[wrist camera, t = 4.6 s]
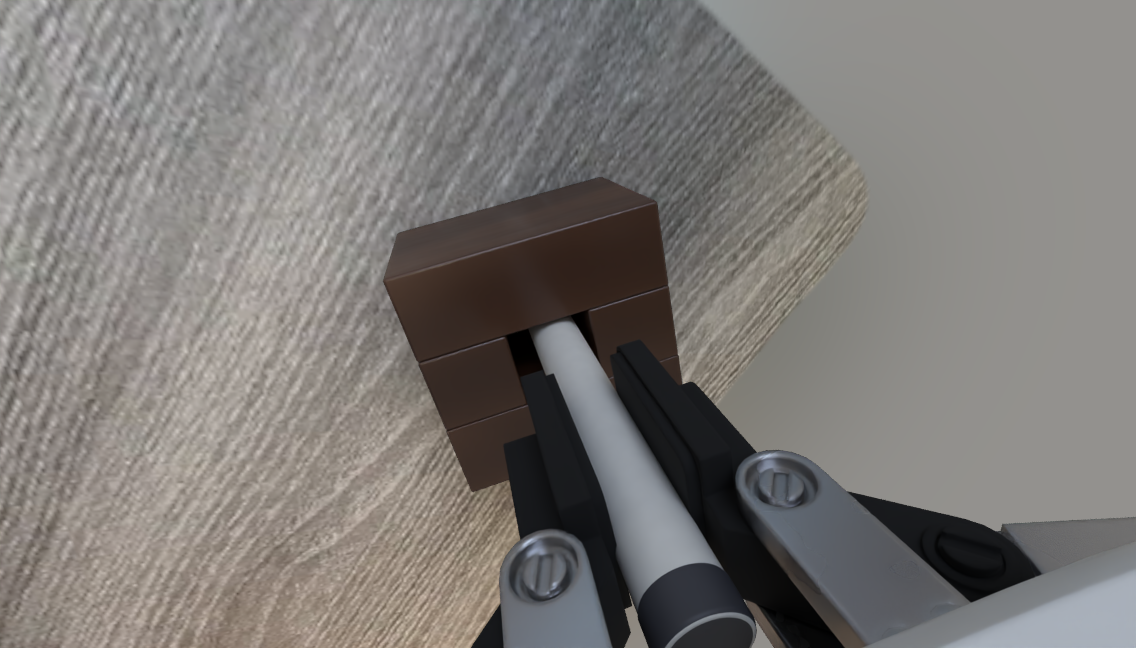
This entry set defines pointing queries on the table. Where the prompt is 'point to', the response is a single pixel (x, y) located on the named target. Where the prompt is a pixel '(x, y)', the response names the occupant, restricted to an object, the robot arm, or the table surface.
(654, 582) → the stylus
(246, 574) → the table surface
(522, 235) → the pen stand
